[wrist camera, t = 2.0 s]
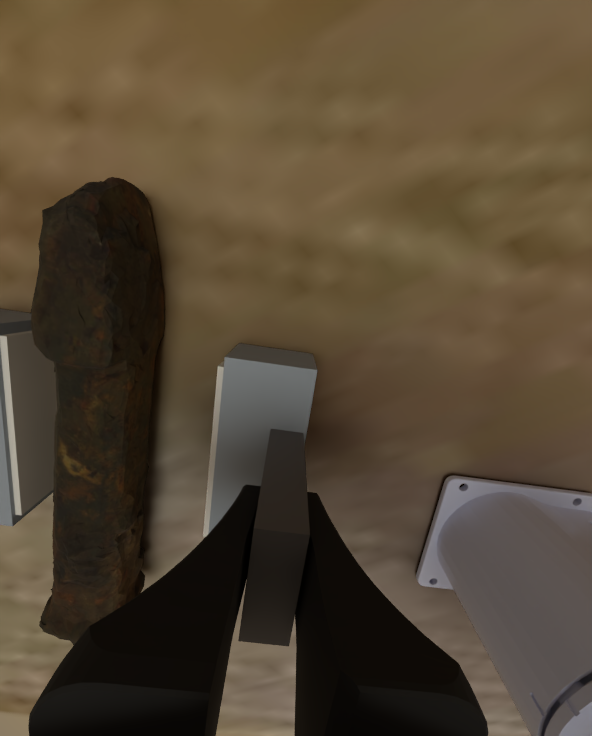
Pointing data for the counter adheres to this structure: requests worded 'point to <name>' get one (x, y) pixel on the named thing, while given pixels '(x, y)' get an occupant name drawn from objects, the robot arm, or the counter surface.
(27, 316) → the fixed jaw
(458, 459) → the counter surface
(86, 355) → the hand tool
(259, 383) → the free jaw
